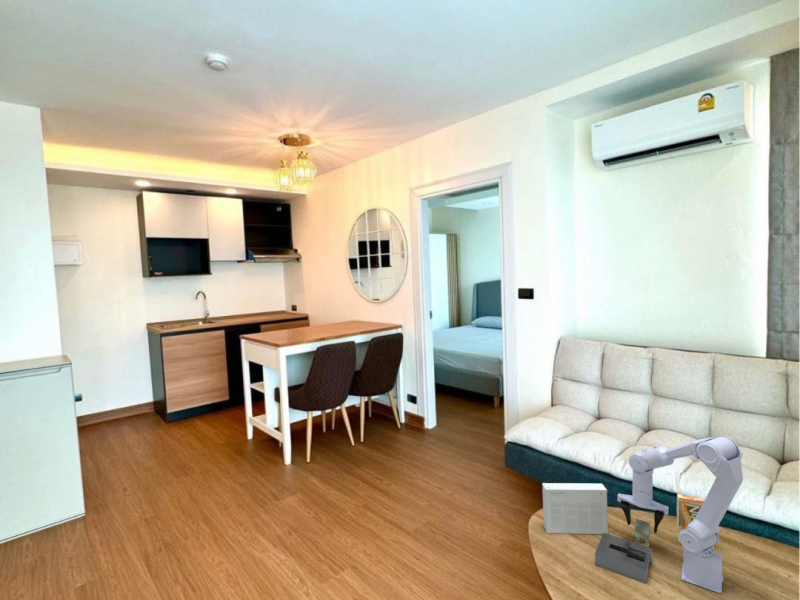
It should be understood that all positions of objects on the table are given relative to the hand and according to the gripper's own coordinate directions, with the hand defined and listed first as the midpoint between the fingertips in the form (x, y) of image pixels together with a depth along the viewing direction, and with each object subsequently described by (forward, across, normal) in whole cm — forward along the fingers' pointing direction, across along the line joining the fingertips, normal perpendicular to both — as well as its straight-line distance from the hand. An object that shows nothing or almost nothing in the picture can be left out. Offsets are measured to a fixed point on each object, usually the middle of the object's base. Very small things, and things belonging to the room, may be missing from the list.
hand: (642, 527), depth 139 cm
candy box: (+6, -14, -10) cm, 18 cm away
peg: (+6, 0, 0) cm, 6 cm away
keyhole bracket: (+6, +3, +13) cm, 15 cm away
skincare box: (+6, +20, +4) cm, 22 cm away
